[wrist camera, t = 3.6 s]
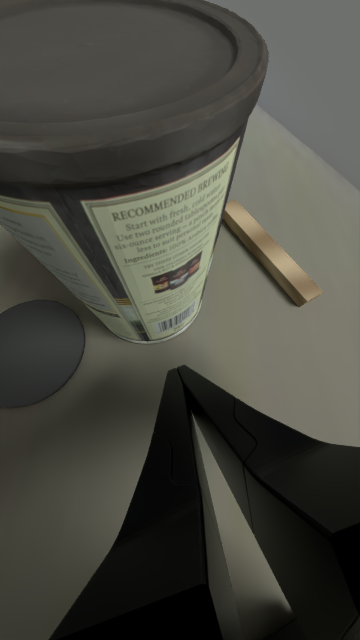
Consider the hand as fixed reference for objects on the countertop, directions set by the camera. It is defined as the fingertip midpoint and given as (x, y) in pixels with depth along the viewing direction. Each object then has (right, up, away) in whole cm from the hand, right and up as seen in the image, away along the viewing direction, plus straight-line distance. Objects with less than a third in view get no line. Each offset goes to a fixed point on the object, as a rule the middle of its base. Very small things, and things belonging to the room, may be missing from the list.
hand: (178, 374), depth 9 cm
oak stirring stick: (+9, +10, +12) cm, 18 cm away
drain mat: (-13, 0, +7) cm, 14 cm away
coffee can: (-3, +5, +9) cm, 11 cm away
